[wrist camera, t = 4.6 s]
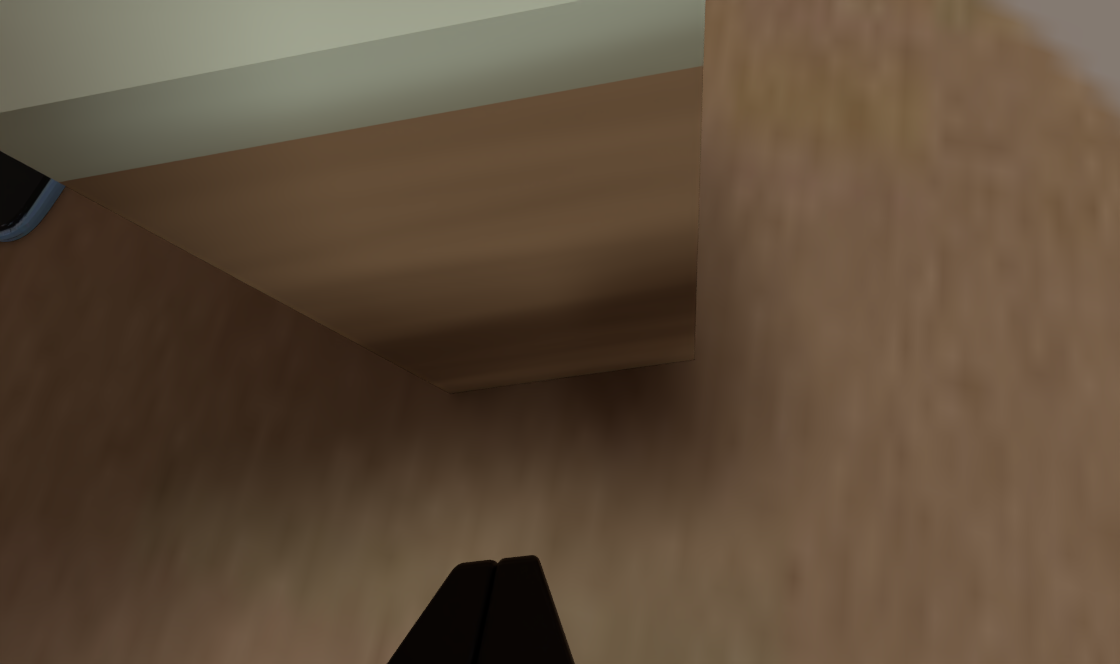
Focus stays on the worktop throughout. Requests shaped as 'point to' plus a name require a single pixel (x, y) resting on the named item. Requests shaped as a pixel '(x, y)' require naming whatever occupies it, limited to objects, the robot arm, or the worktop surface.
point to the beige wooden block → (395, 163)
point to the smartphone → (23, 197)
